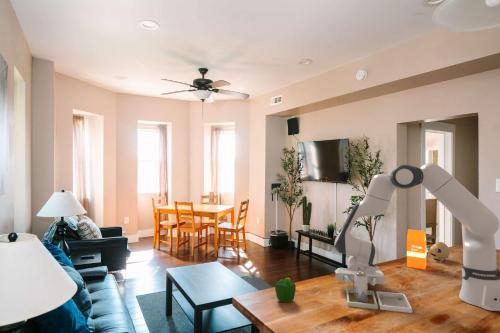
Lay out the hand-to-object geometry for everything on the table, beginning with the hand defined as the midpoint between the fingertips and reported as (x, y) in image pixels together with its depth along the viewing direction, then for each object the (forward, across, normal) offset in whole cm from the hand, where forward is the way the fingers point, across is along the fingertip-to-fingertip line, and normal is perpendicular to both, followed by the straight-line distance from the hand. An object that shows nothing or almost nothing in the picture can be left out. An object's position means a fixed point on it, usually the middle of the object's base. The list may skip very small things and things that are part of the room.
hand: (360, 282), depth 128 cm
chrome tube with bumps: (+1, 0, +7) cm, 8 cm away
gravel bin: (+1, +12, +8) cm, 14 cm away
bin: (+1, 0, +8) cm, 8 cm away
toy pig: (-70, +49, +8) cm, 86 cm away
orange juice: (-56, +34, +8) cm, 65 cm away
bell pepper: (+6, -30, +8) cm, 32 cm away
